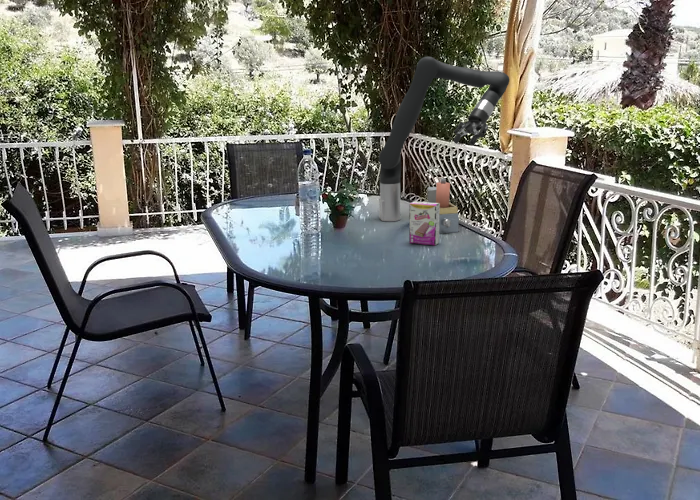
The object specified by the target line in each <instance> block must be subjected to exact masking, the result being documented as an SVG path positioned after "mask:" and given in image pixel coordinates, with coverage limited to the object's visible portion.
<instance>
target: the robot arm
mask: <svg viewBox="0 0 700 500" xmlns="http://www.w3.org/2000/svg"><path fill="white" fill-rule="evenodd" d="M433 79H442V80H443V79H444V80H448V81H452V82H455V83H458V84H461V85H464V86H469V87H474V88H478V89H482V88H484V87H485V86H488V88H487V90H486V91H485V92H484V93H483V95H482V96H481V97H480V99H479V100H478V102H477V103H476V104H475V106H474V107H473V109H472V111H471V112H470V114H469V116H468V117H467V118H468V121H466V123H465V122H463V121H460V122H459V124H458V125H457V127H456V128H455V130H454V131H453V132H454V134H455V136H454V138H453V142H454V144H455V145H456V144H459V142H460V140H461V139H462V137H463V136H466V135H468V134H472V137H471V138H470V139H469V144H470V146H474V145H475V144H476V143H477V141H478V139H483V138H484V137H485V134H486V133H487V131H488V129H489V125H488V124H487V123H488V121H489V119H490V117H491V115H492V113H493V112H494V110H495V108H496V106H497V105H498V103H499V101H500V99H501V98H502V97H503V96H504V94H505V92H506V91H507V88H508V86H509V84H510V76H509V75H508V74H507V73H505V72H502V71H495V70H494V71H490V70H489V71H488V70H487V71H482V70H478V69H474V68H469V67H465V66H464V67H463V66H459V65H458V66H457V65H453V64H448V63H445V62H442V61H440V60H438V59H436V58H434V57H433V56H423V57H422V58H420V59H419V60H418V61H417V65H416V68H415V71H414V76H413V79H412V81H411V83H410V86H409V88H408V90H407V92H406V94H405V95H404V97H403V99H402V102H401V103H400V105H399V108H398V110H397V112H396V115H395V117H394V120H393V123H392V127H391V130H390V133H389V136H388V139H387V140H386V142H385V144H384V146H383V147H382V150H381V151H380V153H379V155H378V162H379V164H380V175H379V194H380V195H379V198H378V205H379V207H378V209H379V211H378V214H379V215H378V216H379V220H380V221H381V222H397V221H400V220H401V215H402V214H401V175H402V172H401V171H402V159H401V156H402V155H401V153H402V150H403V148H404V147H403V146H404V145H405V142H406V140H407V139H408V137H409V136H410V134H411V133H412V131H413V129H414V128H415V125H416V123H417V121H418V118H419V116H420V113H421V111H422V109H423V104H424V101H425V98H426V94H427V92H428V89H429V88H430V87H431V83H432V82H433Z"/></svg>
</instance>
